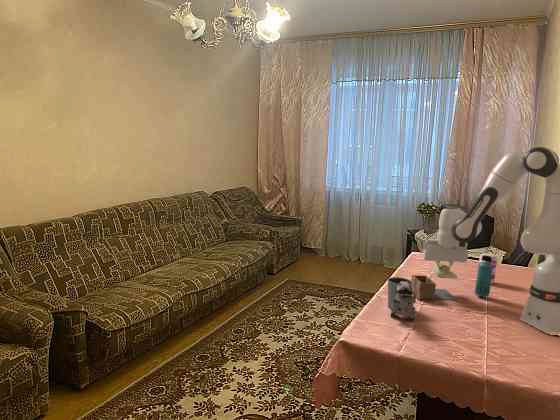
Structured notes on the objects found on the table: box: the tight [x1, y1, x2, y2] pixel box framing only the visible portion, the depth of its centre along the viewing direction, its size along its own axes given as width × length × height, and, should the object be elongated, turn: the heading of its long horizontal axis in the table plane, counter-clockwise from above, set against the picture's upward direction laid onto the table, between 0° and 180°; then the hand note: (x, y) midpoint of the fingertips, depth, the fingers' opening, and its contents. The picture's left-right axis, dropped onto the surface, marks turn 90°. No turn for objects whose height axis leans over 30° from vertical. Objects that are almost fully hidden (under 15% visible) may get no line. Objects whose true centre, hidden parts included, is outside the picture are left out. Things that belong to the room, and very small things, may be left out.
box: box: [410, 274, 437, 302], centre depth 204 cm, size 12×7×8 cm, turn 1°
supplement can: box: [478, 252, 498, 286], centre depth 229 cm, size 8×8×15 cm
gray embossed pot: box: [387, 276, 413, 310], centre depth 187 cm, size 10×10×12 cm
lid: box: [429, 262, 458, 280], centre depth 206 cm, size 13×8×4 cm, turn 1°
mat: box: [434, 288, 458, 301], centre depth 208 cm, size 14×10×1 cm
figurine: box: [390, 281, 417, 323], centre depth 174 cm, size 9×12×15 cm
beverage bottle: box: [474, 255, 493, 297], centre depth 206 cm, size 6×7×20 cm
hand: (443, 270), depth 206 cm, fingers closed on lid, 2 cm apart
